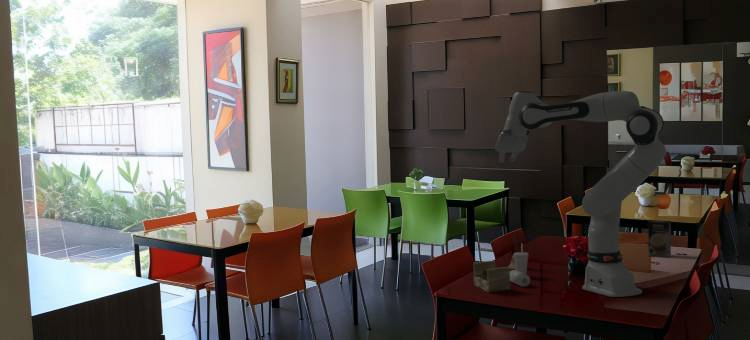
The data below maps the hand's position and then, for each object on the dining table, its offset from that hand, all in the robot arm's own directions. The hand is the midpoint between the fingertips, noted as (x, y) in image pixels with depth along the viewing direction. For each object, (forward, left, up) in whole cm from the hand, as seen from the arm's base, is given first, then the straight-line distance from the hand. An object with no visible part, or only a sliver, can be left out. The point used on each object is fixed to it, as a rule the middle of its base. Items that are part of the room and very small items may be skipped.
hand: (506, 162), depth 270 cm
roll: (-10, +1, -46) cm, 47 cm away
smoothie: (+1, -6, -49) cm, 49 cm away
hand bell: (+16, -12, -49) cm, 53 cm away
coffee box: (+9, -81, -49) cm, 95 cm away
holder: (-10, +13, -49) cm, 51 cm away
